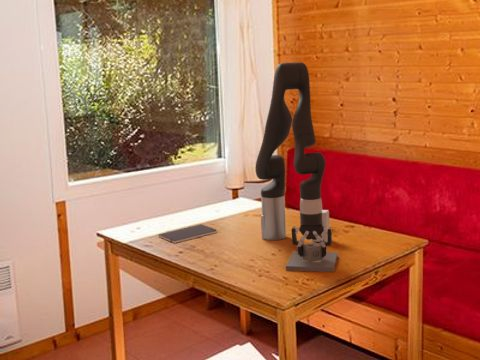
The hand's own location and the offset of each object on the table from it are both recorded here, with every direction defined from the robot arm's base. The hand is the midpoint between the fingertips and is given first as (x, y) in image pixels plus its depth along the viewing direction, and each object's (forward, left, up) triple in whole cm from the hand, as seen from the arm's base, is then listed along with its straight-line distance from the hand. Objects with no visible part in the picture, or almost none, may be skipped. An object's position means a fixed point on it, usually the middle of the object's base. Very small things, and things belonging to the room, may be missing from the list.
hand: (312, 256), depth 210 cm
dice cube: (0, 0, -1) cm, 1 cm away
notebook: (-56, +30, -3) cm, 64 cm away
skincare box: (0, +26, -3) cm, 26 cm away
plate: (0, 0, -2) cm, 2 cm away
